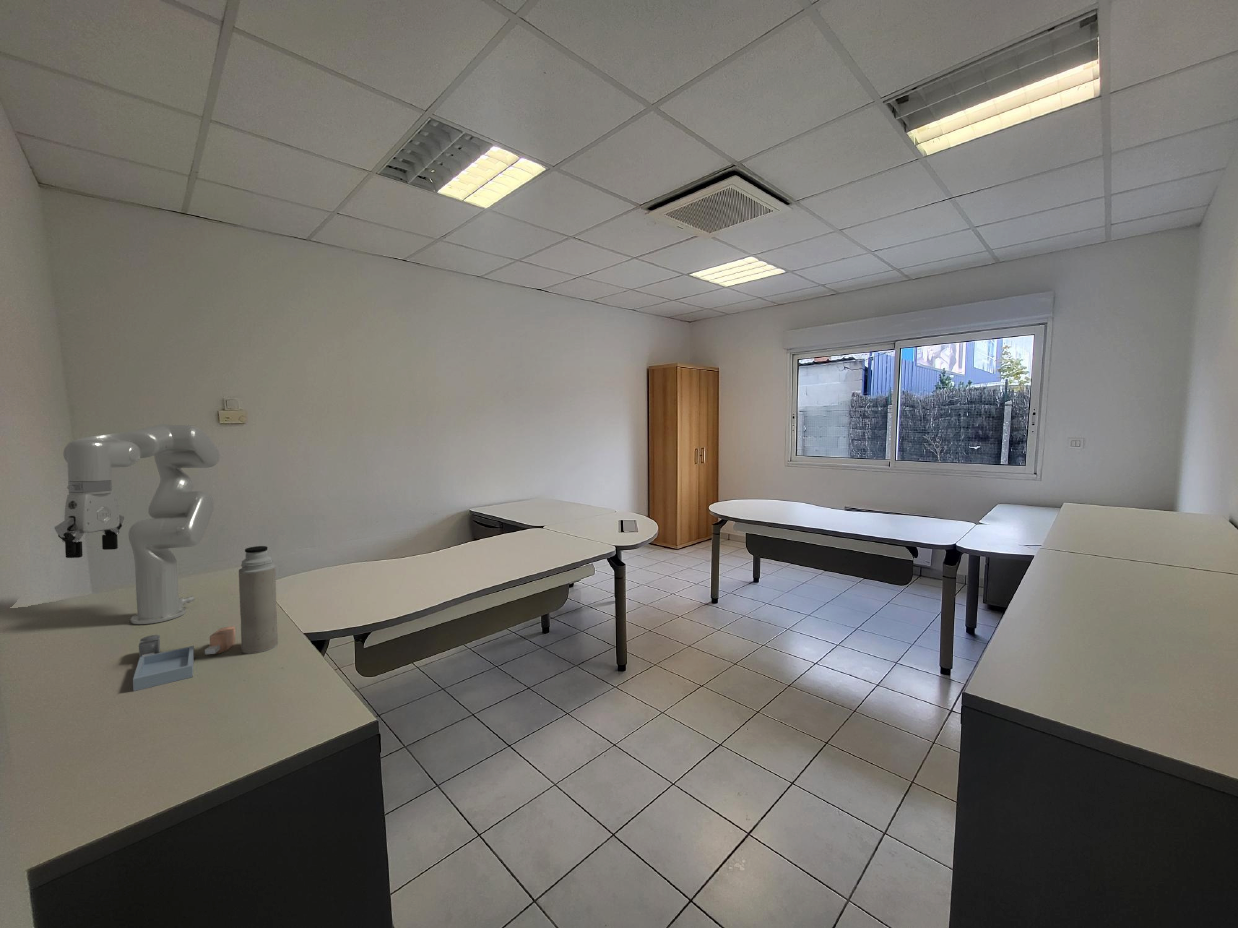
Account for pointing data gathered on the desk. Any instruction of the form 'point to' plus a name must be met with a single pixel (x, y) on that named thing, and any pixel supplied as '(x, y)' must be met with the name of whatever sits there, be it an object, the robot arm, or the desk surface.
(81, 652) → the desk surface
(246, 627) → the thermos bottle
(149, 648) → the graphite plug
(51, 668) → the desk surface
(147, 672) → the tray
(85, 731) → the desk surface
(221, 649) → the terracotta plug
